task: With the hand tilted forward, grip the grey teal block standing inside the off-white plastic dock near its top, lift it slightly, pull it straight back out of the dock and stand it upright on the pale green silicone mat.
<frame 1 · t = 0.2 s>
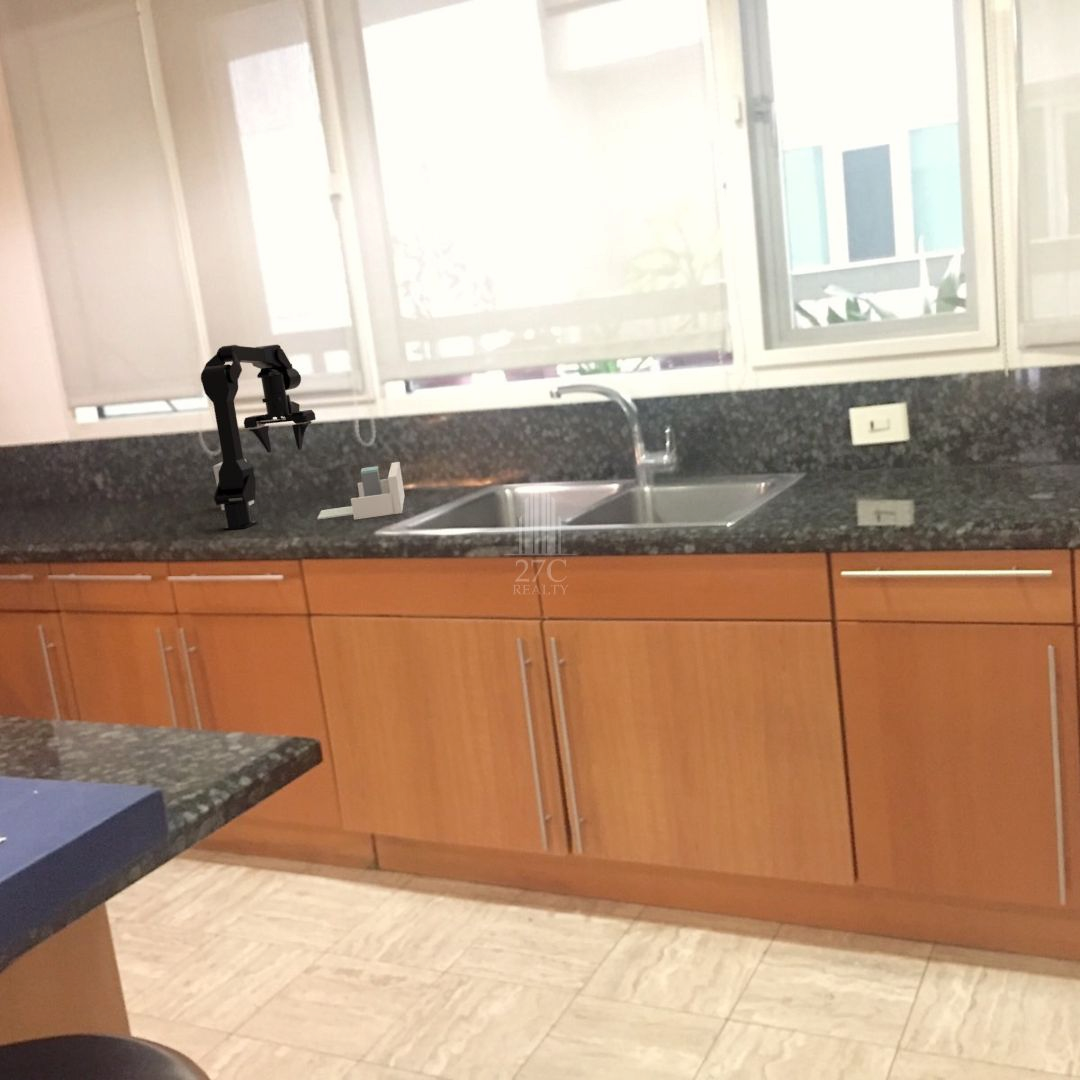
hand: (284, 451, 319), 14 cm above the worktop, tool pointing down, fingers open, 9 cm apart
grey teal block: (375, 508, 298), on the worktop
mat: (339, 512, 298), on the worktop
dock: (375, 507, 298), on the worktop
supplement box: (238, 507, 330), on the worktop
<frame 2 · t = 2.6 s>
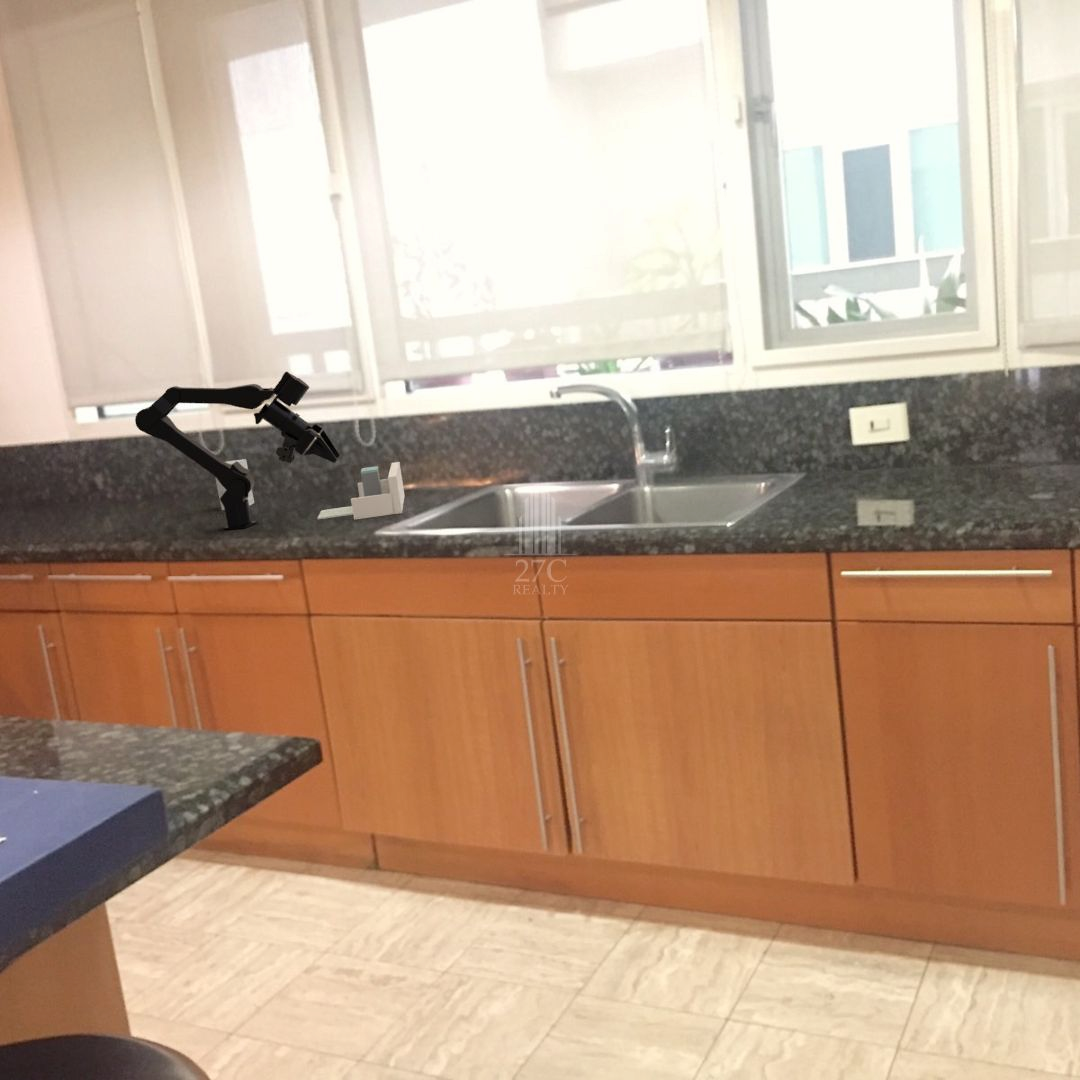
hand: (337, 458, 295), 14 cm above the worktop, tool tilted 45°, fingers open, 9 cm apart
nothing on the worktop moved.
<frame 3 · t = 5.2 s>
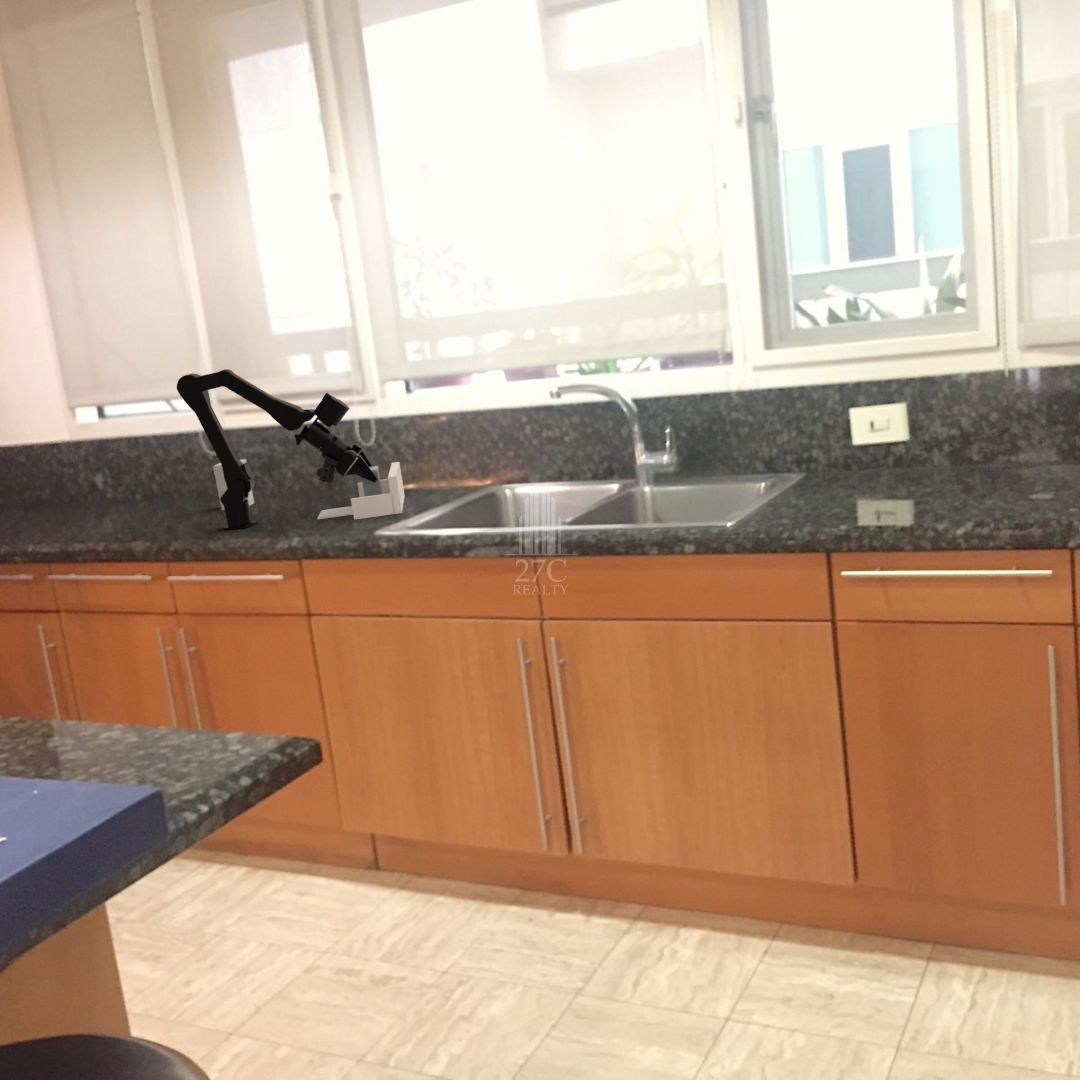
hand: (376, 479, 297), 7 cm above the worktop, tool tilted 45°, fingers closed on grey teal block, 6 cm apart
grey teal block: (375, 507, 298), on the worktop, touching gripper
everything else where it was.
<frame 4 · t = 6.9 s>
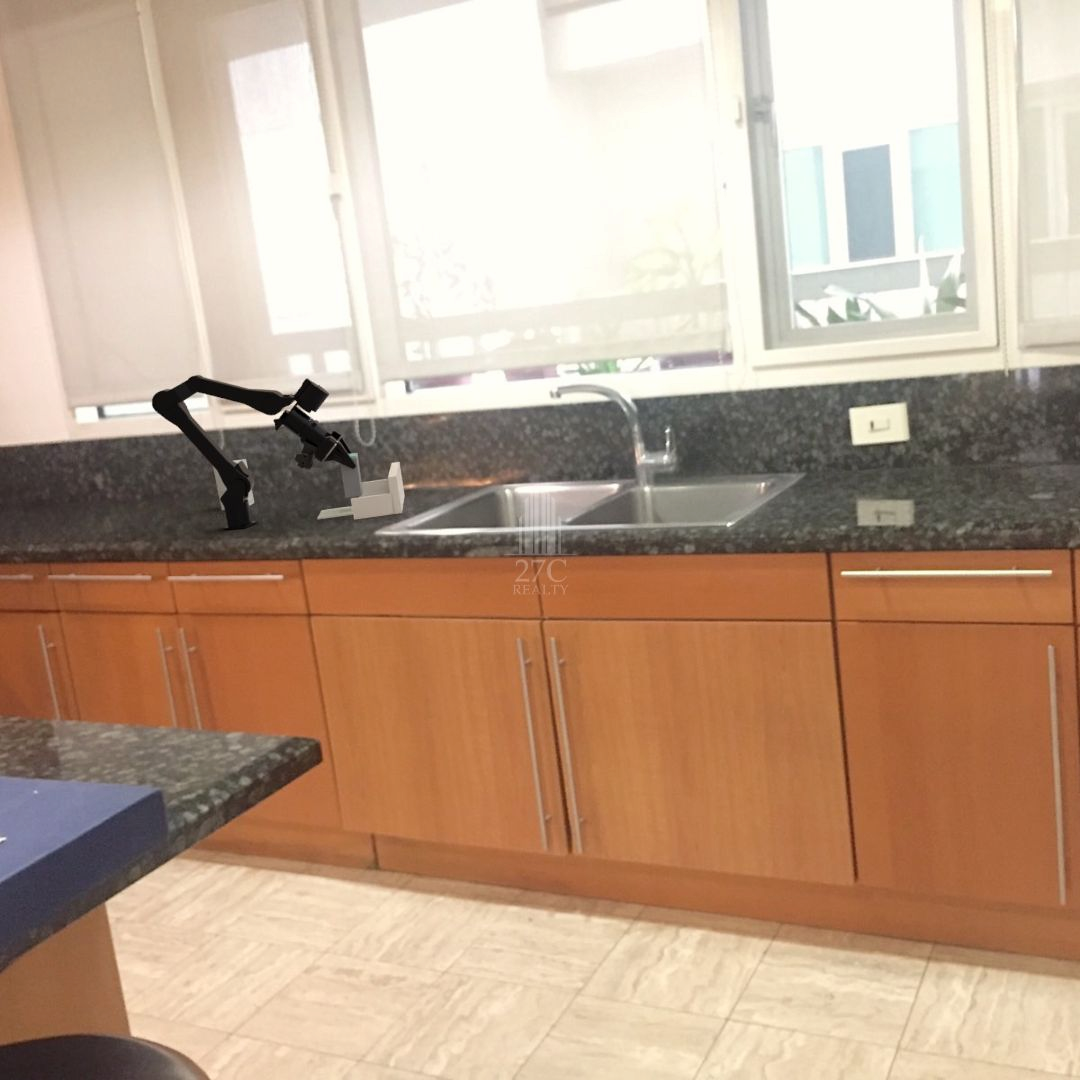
hand: (355, 465, 296), 11 cm above the worktop, tool tilted 45°, fingers closed on grey teal block, 6 cm apart
grey teal block: (354, 494, 297), point 4 cm above the worktop, touching gripper
everything else where it was.
when the fingers open (8 cm above the worktop, at t = 8.6 s): grey teal block stays where it is, resting on mat.
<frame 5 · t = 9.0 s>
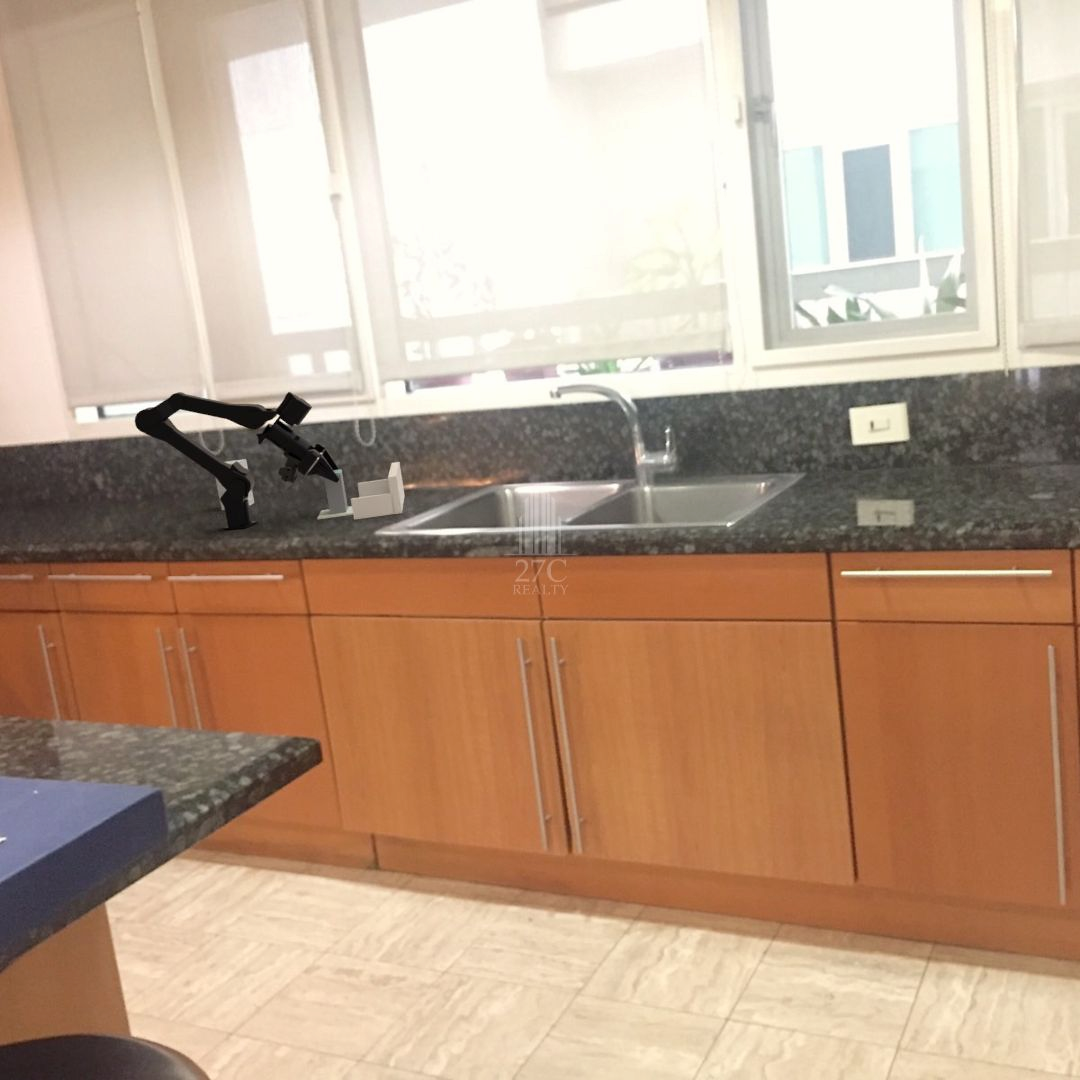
hand: (339, 478, 296), 9 cm above the worktop, tool tilted 45°, fingers open, 9 cm apart
grey teal block: (339, 511, 298), resting on mat
everything else where it was.
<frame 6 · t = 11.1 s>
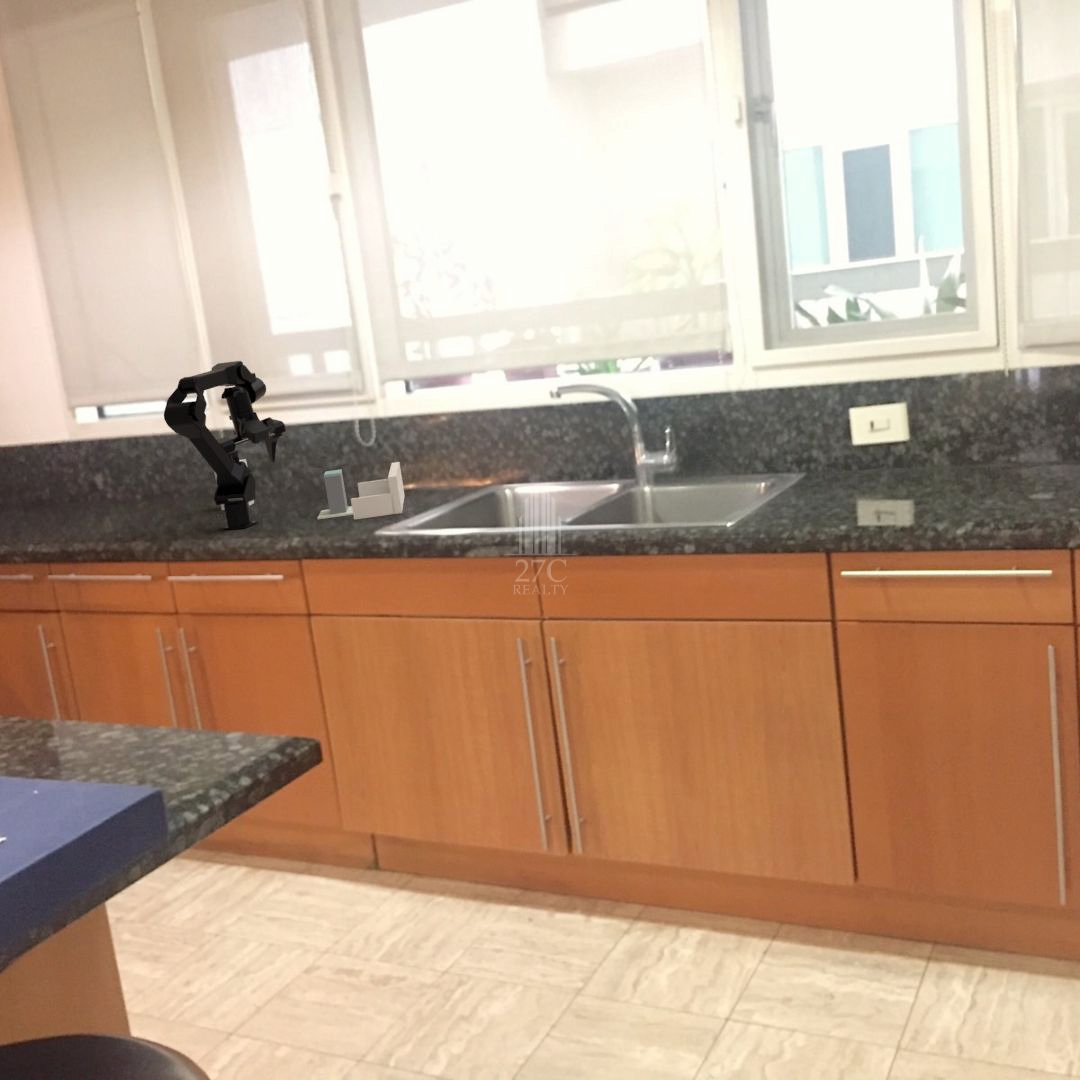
hand: (257, 468, 306), 12 cm above the worktop, tool pointing down, fingers open, 9 cm apart
nothing on the worktop moved.
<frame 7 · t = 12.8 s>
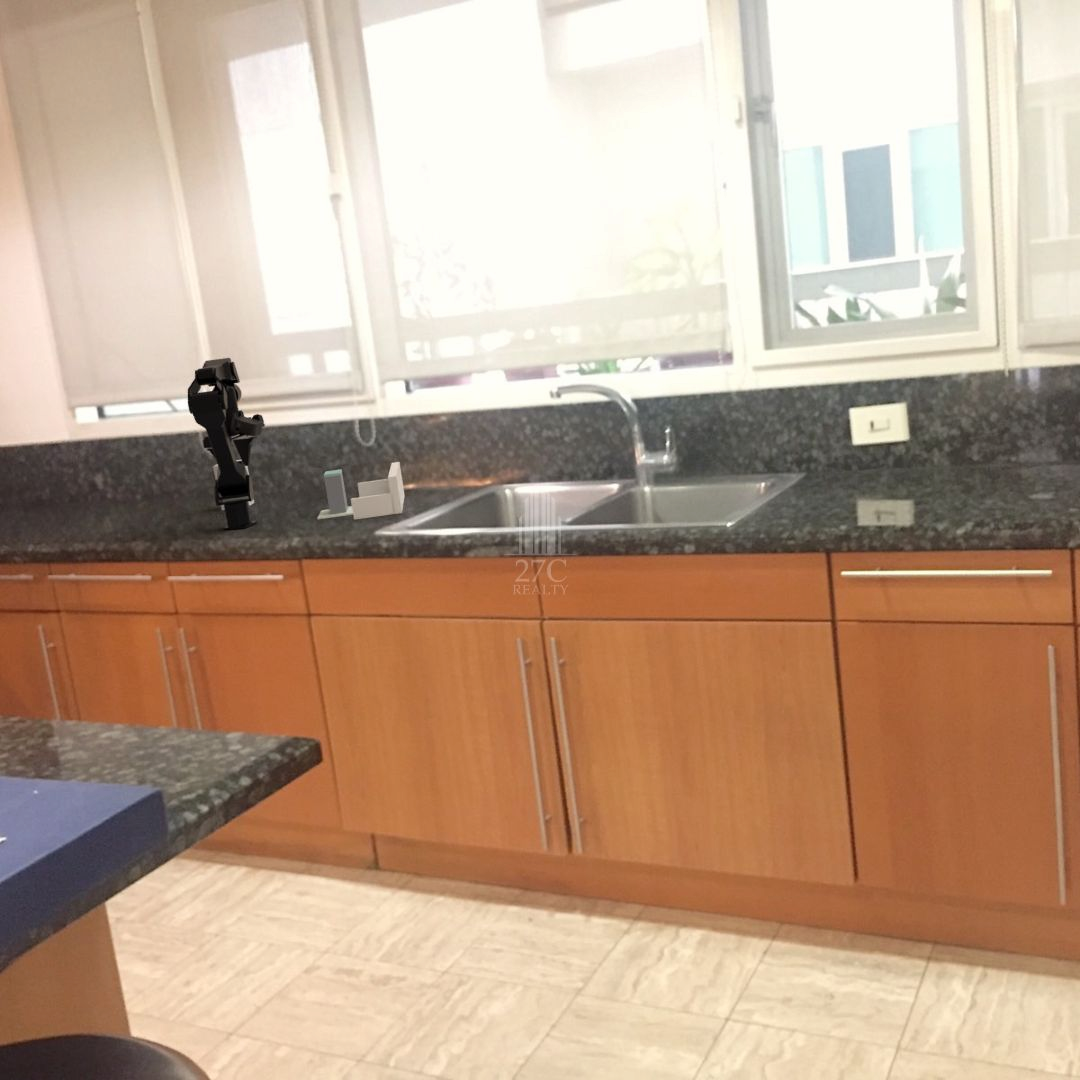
hand: (237, 469, 305), 13 cm above the worktop, tool pointing down, fingers open, 9 cm apart
nothing on the worktop moved.
at the end: grey teal block inside the target area on the mat (0.1 cm from its centre), point 0.4 cm above the mat's base; grey teal block tilted 0°; the gripper is holding nothing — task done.
